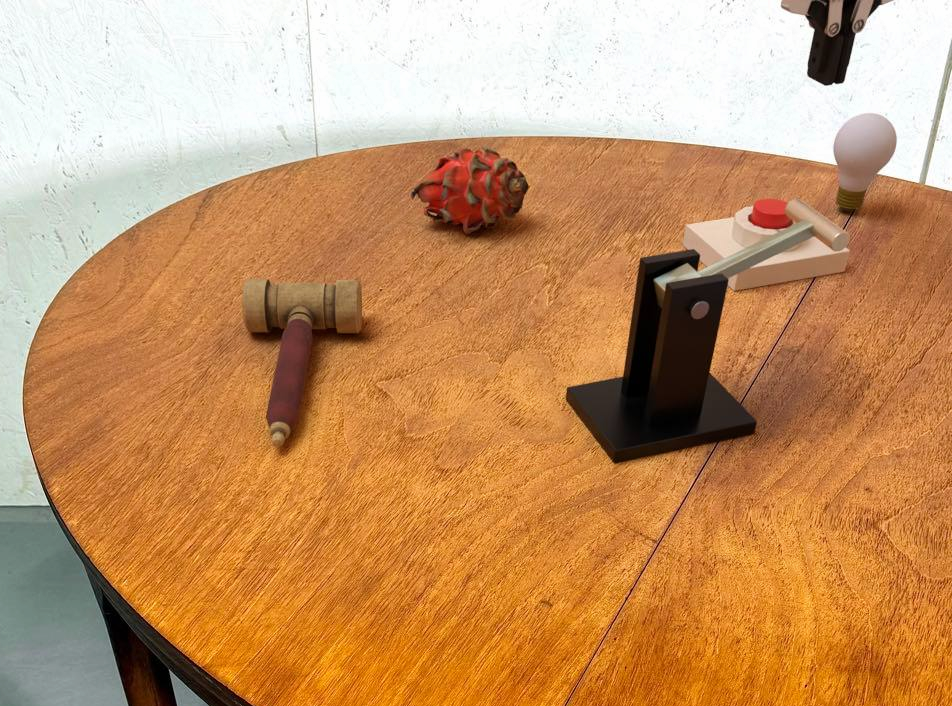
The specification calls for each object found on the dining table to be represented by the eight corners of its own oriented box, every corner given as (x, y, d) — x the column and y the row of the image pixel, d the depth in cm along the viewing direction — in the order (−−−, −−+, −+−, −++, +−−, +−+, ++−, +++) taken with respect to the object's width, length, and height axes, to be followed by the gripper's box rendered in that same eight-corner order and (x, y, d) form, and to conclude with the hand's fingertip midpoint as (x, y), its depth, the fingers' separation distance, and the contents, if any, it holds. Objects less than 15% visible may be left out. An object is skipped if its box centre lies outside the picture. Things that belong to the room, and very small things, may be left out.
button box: (786, 228, 109) (795, 190, 106) (844, 271, 102) (855, 232, 99) (682, 245, 106) (688, 207, 104) (733, 291, 99) (742, 251, 97)
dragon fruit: (534, 243, 110) (420, 257, 112) (528, 170, 112) (416, 185, 114) (531, 201, 102) (408, 217, 104) (524, 122, 104) (403, 139, 106)
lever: (803, 216, 80) (801, 189, 78) (850, 251, 76) (849, 223, 74) (646, 293, 80) (640, 267, 78) (684, 332, 76) (680, 305, 74)
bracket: (697, 373, 89) (725, 229, 80) (754, 433, 82) (792, 284, 74) (565, 399, 86) (580, 253, 78) (613, 463, 80) (636, 311, 71)
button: (775, 213, 103) (779, 196, 102) (796, 228, 101) (800, 211, 100) (742, 218, 103) (746, 201, 101) (763, 234, 100) (766, 216, 99)
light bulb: (809, 214, 111) (833, 118, 105) (828, 194, 115) (852, 100, 108) (865, 228, 109) (894, 130, 102) (883, 207, 112) (911, 111, 106)
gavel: (341, 421, 78) (206, 419, 79) (345, 467, 82) (215, 466, 82) (360, 269, 93) (247, 268, 93) (363, 314, 96) (253, 313, 97)
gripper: (931, -189, 84) (873, 56, 96) (763, -173, 81) (724, 78, 93) (997, -177, 78) (927, 81, 90) (819, -159, 75) (771, 106, 87)
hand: (824, 79), depth 91 cm, fingers closed
